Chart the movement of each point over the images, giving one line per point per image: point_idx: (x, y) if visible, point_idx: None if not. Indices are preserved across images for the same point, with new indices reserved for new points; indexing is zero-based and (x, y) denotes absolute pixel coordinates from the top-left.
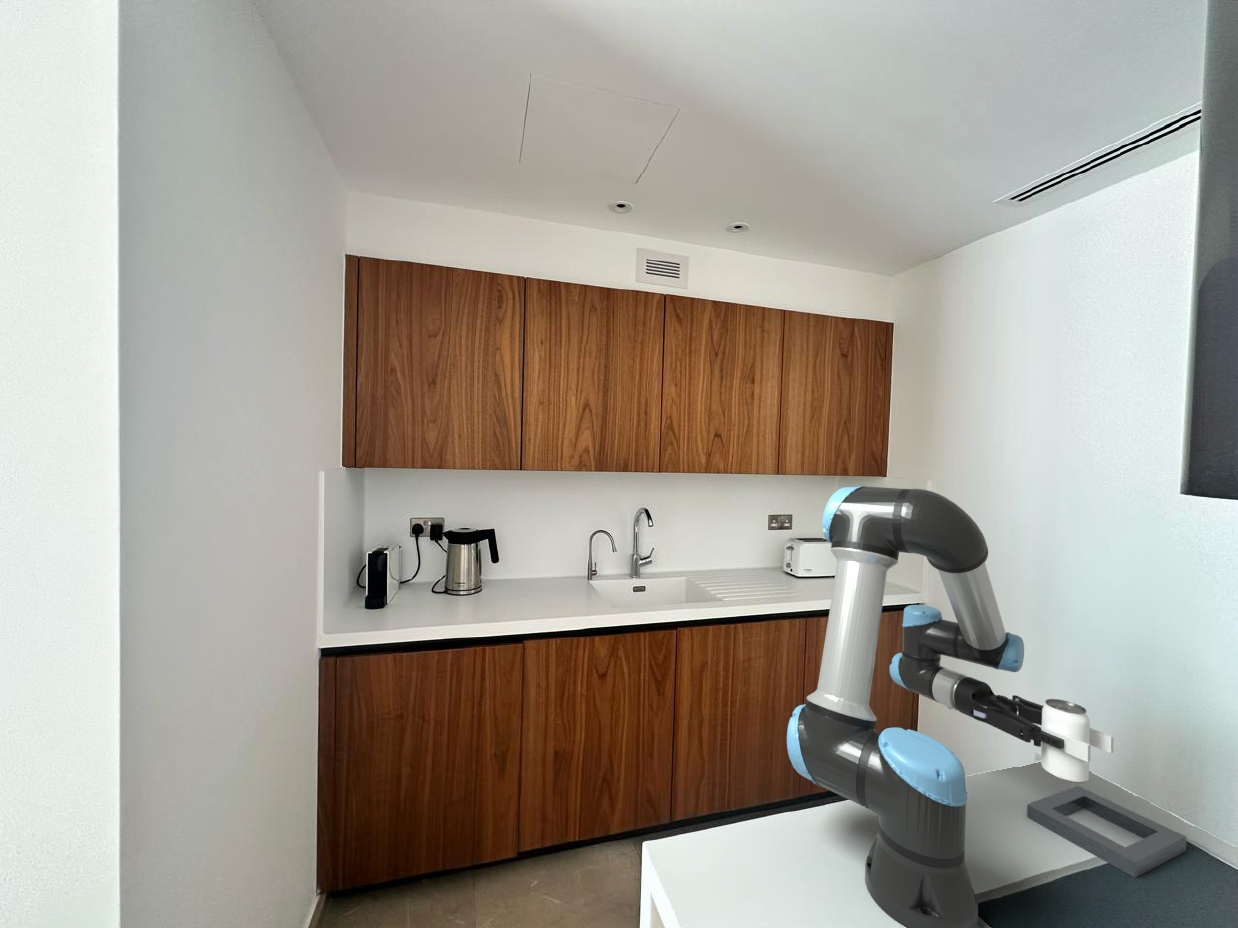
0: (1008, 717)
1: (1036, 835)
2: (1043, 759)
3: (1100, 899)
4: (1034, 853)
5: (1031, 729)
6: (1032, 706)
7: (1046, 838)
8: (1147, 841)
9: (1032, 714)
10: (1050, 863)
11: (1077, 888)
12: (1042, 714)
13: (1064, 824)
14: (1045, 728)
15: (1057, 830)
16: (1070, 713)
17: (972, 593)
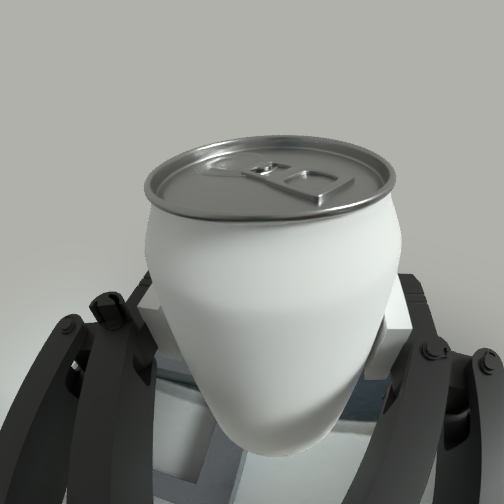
0: (479, 494)
1: (284, 489)
2: (331, 427)
3: (366, 380)
4: (350, 466)
5: (451, 373)
6: (24, 473)
7: (277, 477)
8: (178, 367)
9: (126, 486)
10: (352, 444)
11: (374, 401)
12: (359, 323)
13: (241, 457)
14: (409, 319)
15: (241, 470)
16: (350, 153)
17: None
